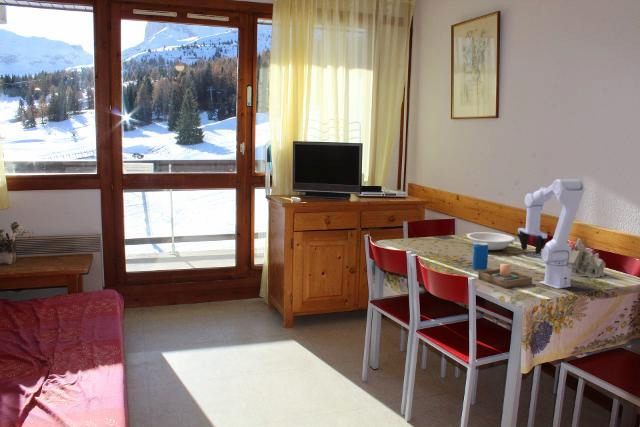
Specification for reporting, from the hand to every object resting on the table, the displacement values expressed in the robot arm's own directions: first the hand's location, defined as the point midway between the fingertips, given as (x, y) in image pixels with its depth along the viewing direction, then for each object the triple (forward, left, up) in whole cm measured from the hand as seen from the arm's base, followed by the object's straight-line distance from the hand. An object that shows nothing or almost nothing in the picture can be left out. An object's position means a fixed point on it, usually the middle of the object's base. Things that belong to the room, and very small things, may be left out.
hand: (530, 251), depth 245 cm
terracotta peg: (-6, +21, -8) cm, 23 cm away
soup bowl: (+42, -17, -10) cm, 46 cm away
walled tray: (-6, +21, -9) cm, 24 cm away
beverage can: (+13, +17, -10) cm, 23 cm away
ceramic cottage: (-11, -19, -10) cm, 24 cm away
